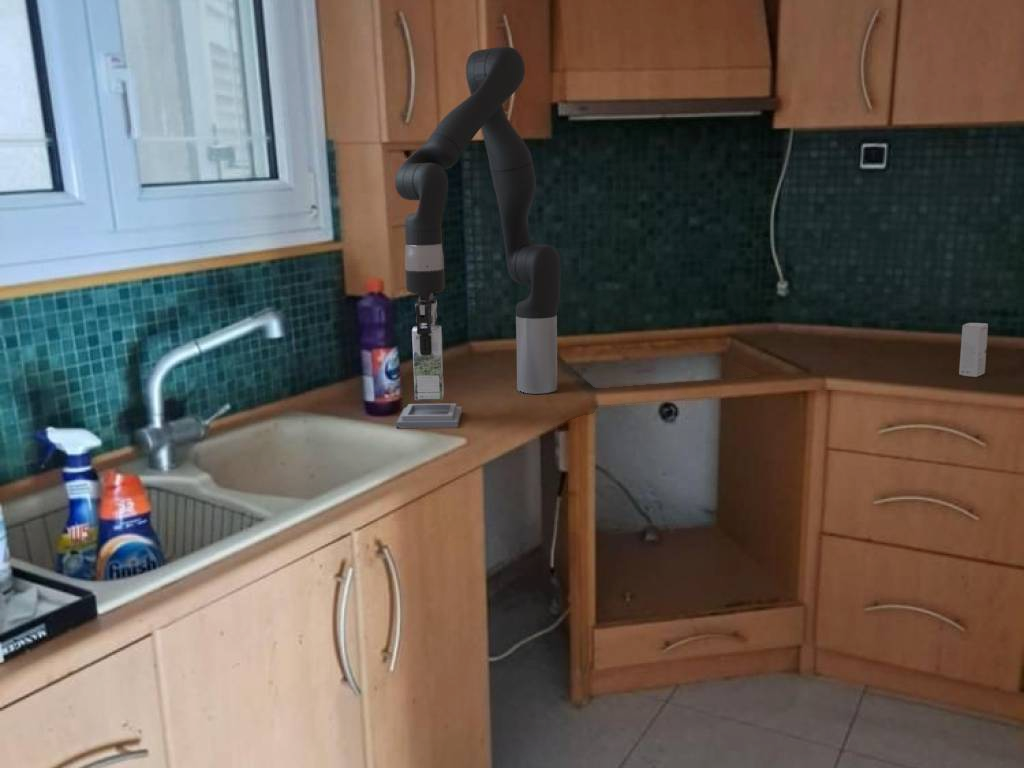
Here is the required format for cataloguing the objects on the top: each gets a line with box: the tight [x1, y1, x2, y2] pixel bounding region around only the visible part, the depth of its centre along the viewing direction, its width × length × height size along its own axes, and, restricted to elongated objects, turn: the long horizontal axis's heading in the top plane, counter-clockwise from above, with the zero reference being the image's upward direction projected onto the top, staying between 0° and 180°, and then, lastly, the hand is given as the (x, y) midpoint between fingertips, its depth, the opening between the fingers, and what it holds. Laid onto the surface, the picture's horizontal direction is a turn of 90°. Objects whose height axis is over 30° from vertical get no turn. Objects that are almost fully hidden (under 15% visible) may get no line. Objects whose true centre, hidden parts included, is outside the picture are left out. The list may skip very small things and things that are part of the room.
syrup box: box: [411, 325, 445, 402], centre depth 188 cm, size 6×6×14 cm
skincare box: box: [958, 322, 989, 378], centre depth 222 cm, size 6×4×12 cm
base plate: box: [395, 402, 463, 429], centre depth 190 cm, size 12×12×2 cm
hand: (427, 351), depth 187 cm, fingers closed on syrup box, 6 cm apart
